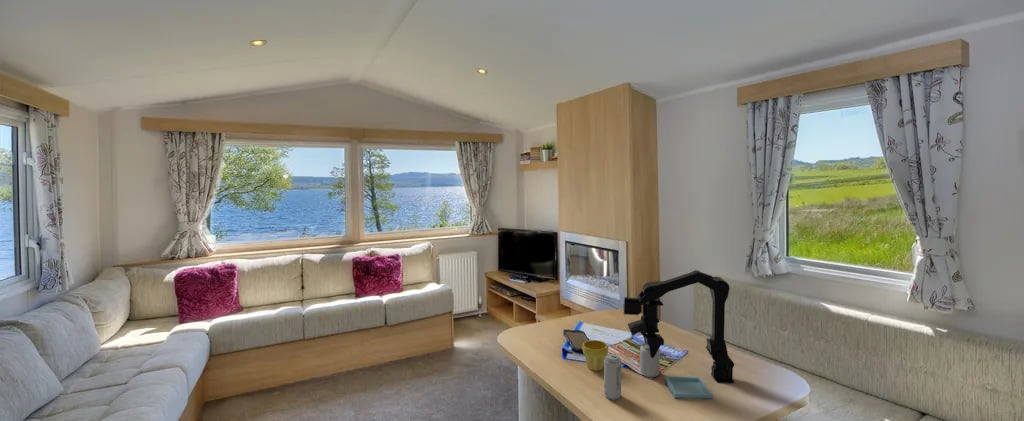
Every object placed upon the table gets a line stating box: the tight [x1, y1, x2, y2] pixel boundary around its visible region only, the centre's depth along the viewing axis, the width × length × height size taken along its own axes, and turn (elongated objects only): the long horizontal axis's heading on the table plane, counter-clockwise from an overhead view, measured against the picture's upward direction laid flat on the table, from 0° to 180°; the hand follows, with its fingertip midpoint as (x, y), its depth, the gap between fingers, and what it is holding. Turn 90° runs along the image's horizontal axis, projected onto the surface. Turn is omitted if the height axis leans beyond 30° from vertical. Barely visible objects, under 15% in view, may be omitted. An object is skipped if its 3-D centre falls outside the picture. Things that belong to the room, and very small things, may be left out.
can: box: [639, 342, 661, 378], centre depth 171 cm, size 8×8×12 cm
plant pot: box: [582, 339, 609, 372], centre depth 177 cm, size 10×10×10 cm
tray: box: [664, 375, 714, 400], centre depth 158 cm, size 13×13×2 cm
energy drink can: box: [603, 353, 622, 401], centre depth 154 cm, size 6×6×15 cm
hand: (649, 353), depth 170 cm, fingers closed on can, 7 cm apart
